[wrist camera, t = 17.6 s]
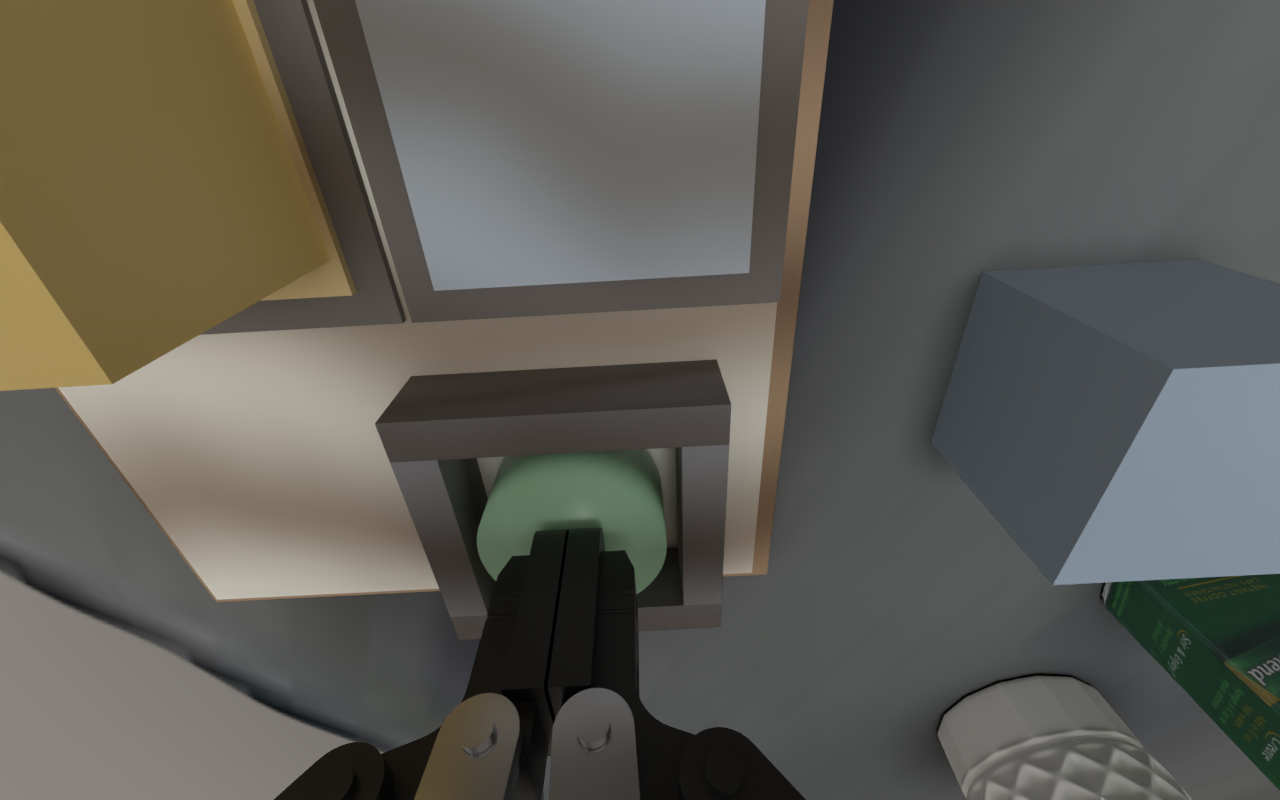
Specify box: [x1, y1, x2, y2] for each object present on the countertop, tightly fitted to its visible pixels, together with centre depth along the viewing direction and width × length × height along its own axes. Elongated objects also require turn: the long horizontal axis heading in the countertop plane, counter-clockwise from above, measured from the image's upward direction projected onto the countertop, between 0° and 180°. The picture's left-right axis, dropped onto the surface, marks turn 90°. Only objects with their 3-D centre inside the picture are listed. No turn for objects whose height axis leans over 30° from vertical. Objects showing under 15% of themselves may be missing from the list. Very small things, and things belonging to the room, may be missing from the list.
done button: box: [477, 449, 667, 594], centre depth 13 cm, size 4×4×2 cm
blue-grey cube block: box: [931, 259, 1280, 585], centre depth 11 cm, size 5×5×5 cm
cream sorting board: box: [55, 0, 834, 640], centre depth 11 cm, size 20×18×3 cm
